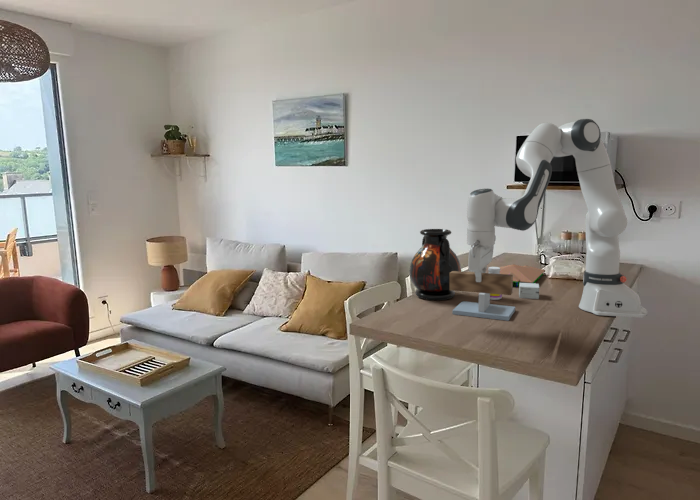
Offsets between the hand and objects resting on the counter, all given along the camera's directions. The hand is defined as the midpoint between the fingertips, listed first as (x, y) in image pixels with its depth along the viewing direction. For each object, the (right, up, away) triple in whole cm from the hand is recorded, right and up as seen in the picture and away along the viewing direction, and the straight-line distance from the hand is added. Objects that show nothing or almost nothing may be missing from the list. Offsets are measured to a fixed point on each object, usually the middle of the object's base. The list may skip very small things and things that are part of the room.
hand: (480, 280), depth 162 cm
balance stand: (+6, -13, +19) cm, 24 cm away
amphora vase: (-7, -10, +44) cm, 46 cm away
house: (+35, -5, +72) cm, 80 cm away
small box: (+31, -10, +41) cm, 53 cm away
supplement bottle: (+16, -10, +39) cm, 43 cm away
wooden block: (0, -4, +1) cm, 4 cm away
